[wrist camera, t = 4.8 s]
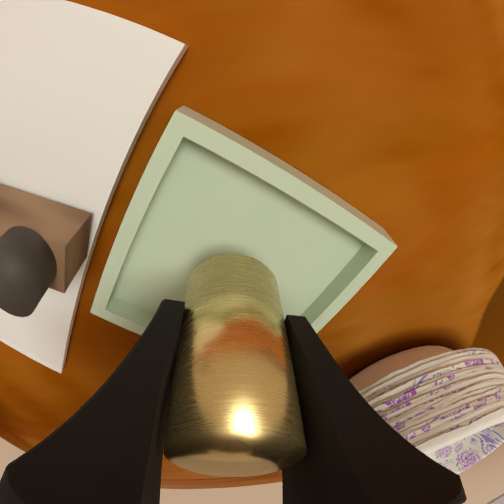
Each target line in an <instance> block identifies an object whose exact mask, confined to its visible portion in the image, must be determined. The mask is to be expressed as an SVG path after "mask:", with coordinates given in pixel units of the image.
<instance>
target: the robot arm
mask: <svg viewBox="0 0 504 504" xmlns="http://www.w3.org/2000/svg"><path fill="white" fill-rule="evenodd" d="M184 308H185V302H183V301H176V300H170V299H164V300H162V301H161V303H160V305H159V307H158V309H157V311H156V313H155V315H154V316H153V318H152V320H151V321H150V323H149V325H148V326H147V328H146V329H145V331H144V332H143V334H142V335H141V337H140V338H139V339H138V341H137V342H136V344H135V345H134V347H133V348H132V349H131V351H130V352H129V353H128V355H127V356H126V357H125V359H124V360H123V361H122V362H121V364H120V365H119V366H118V367H117V369H116V370H115V371H114V372H113V374H112V375H111V376H110V377H109V378H108V379H107V381H106V382H105V383H104V384H103V385H102V386H101V387H100V388H99V389H98V391H97V392H96V393H95V394H94V395H93V396H92V397H91V398H90V399H89V400H88V401H87V402H86V403H85V404H84V405H83V406H82V407H81V408H80V409H79V410H78V411H77V412H76V413H75V414H74V415H72V416H71V417H70V418H69V419H68V420H67V421H66V422H65V423H63V424H62V425H61V426H60V427H59V428H57V429H56V430H55V431H54V432H52V433H51V434H50V435H49V436H48V437H46V438H45V439H44V440H43V441H41V442H40V443H39V444H37V445H36V446H35V447H33V448H32V449H30V450H29V451H27V452H26V453H24V454H23V455H21V456H20V457H18V458H17V459H16V460H14V461H12V462H11V463H10V464H8V466H7V467H6V469H5V471H4V473H3V476H2V478H1V481H0V504H159V501H160V483H161V468H162V456H163V445H164V438H165V432H166V423H167V415H168V406H169V398H170V391H171V383H172V376H173V369H174V362H175V356H176V351H177V347H178V342H179V338H180V334H181V327H182V321H183V315H184ZM285 326H286V332H287V337H288V343H289V348H290V354H291V359H292V365H293V371H294V376H295V382H296V388H297V394H298V399H299V405H300V411H301V417H302V423H303V429H304V435H305V441H306V447H307V453H306V455H305V457H304V458H303V459H302V460H300V461H299V462H298V463H296V464H294V465H292V466H290V467H288V468H286V469H283V470H282V477H283V504H462V503H464V502H465V501H466V499H467V498H466V495H465V492H464V489H463V485H462V482H461V479H460V476H459V475H458V474H456V473H454V472H452V471H451V470H449V469H447V468H446V467H444V466H442V465H441V464H439V463H437V462H436V461H434V460H433V459H431V458H430V457H428V456H427V455H425V454H424V453H423V452H421V451H420V450H419V449H417V448H416V447H415V446H413V445H412V444H411V443H410V442H408V441H407V440H406V439H405V438H404V437H402V436H401V435H400V434H399V433H398V432H397V431H396V430H394V429H393V428H392V427H391V426H390V425H389V424H388V423H387V422H386V421H385V420H384V419H383V418H382V417H381V416H380V415H379V414H378V413H377V412H376V411H375V410H374V409H373V408H372V407H371V406H370V405H369V404H368V402H367V401H366V400H365V399H364V398H363V397H362V396H361V394H360V393H359V392H358V391H357V389H356V388H355V387H354V386H353V384H352V383H351V382H350V381H349V379H348V378H347V377H346V375H345V374H344V373H343V371H342V370H341V369H340V367H339V366H338V364H337V363H336V362H335V360H334V359H333V357H332V356H331V354H330V353H329V352H328V350H327V349H326V347H325V346H324V344H323V343H322V341H321V340H320V338H319V337H318V335H317V333H316V332H315V330H314V329H313V327H312V326H311V324H310V323H309V321H308V320H307V318H306V317H305V316H296V315H286V318H285ZM487 504H504V494H502V495H500V496H499V497H497V498H495V499H494V500H492V501H490V502H488V503H487Z"/></svg>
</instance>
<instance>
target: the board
mask: <svg viewBox="0 0 504 504" xmlns="http://www.w3.org/2000/svg"><path fill="white" fill-rule="evenodd" d="M188 47H189V46H187V45H186V44H183V43H181V42H179V41H177V40H175V39H172V38H170V37H168V36H166V35H163V34H161V33H159V32H156V31H154V30H151V29H149V28H146V27H144V26H141V25H139V24H136V23H134V22H131V21H128V20H126V19H123V18H120V17H117V16H114V15H112V14H109V13H106V12H103V11H100V10H96V9H93V8H90V7H87V6H83V5H80V4H76V3H73V2H69V1H65V0H0V184H3V185H6V186H9V187H12V188H15V189H18V190H22V191H25V192H28V193H31V194H34V195H37V196H40V197H43V198H46V199H49V200H52V201H55V202H59V203H62V204H65V205H68V206H71V207H74V208H77V209H80V210H83V211H87V212H90V213H92V217H91V225H90V233H89V242H88V252H87V258H86V259H85V261H84V262H83V264H82V266H81V267H80V269H79V270H78V272H77V274H76V275H75V277H74V278H73V280H72V282H71V283H70V285H69V287H68V288H67V290H66V292H65V294H64V293H61V292H59V291H56V290H53V289H51V288H48V289H47V291H46V293H45V294H44V296H43V297H42V299H41V301H40V302H39V304H38V305H37V307H36V309H35V310H34V312H33V313H32V314H31V315H30V316H27V317H17V316H13V315H11V314H9V313H7V312H5V311H4V310H2V309H1V308H0V341H2V342H4V343H5V344H7V345H9V346H10V347H12V348H14V349H15V350H17V351H19V352H21V353H22V354H24V355H26V356H28V357H30V358H31V359H33V360H35V361H37V362H39V363H41V364H43V365H45V366H47V367H49V368H51V369H53V370H55V371H57V372H59V373H62V370H63V368H64V365H65V361H66V355H67V350H68V345H69V341H70V336H71V331H72V327H73V323H74V318H75V314H76V310H77V306H78V302H79V299H80V295H81V291H82V287H83V284H84V280H85V277H86V274H87V270H88V267H89V264H90V260H91V257H92V254H93V251H94V248H95V245H96V242H97V239H98V236H99V233H100V230H101V227H102V225H103V222H104V219H105V216H106V214H107V211H108V208H109V206H110V203H111V200H112V198H113V195H114V193H115V190H116V188H117V185H118V183H119V181H120V178H121V176H122V173H123V171H124V169H125V166H126V164H127V162H128V160H129V157H130V155H131V153H132V151H133V149H134V146H135V144H136V142H137V140H138V138H139V136H140V134H141V132H142V130H143V128H144V126H145V124H146V122H147V120H148V118H149V116H150V114H151V112H152V110H153V108H154V106H155V104H156V102H157V100H158V98H159V97H160V95H161V93H162V91H163V89H164V87H165V86H166V84H167V82H168V80H169V79H170V77H171V75H172V73H173V72H174V70H175V68H176V67H177V65H178V63H179V62H180V60H181V58H182V57H183V55H184V53H185V52H186V50H187V49H188Z"/></svg>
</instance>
